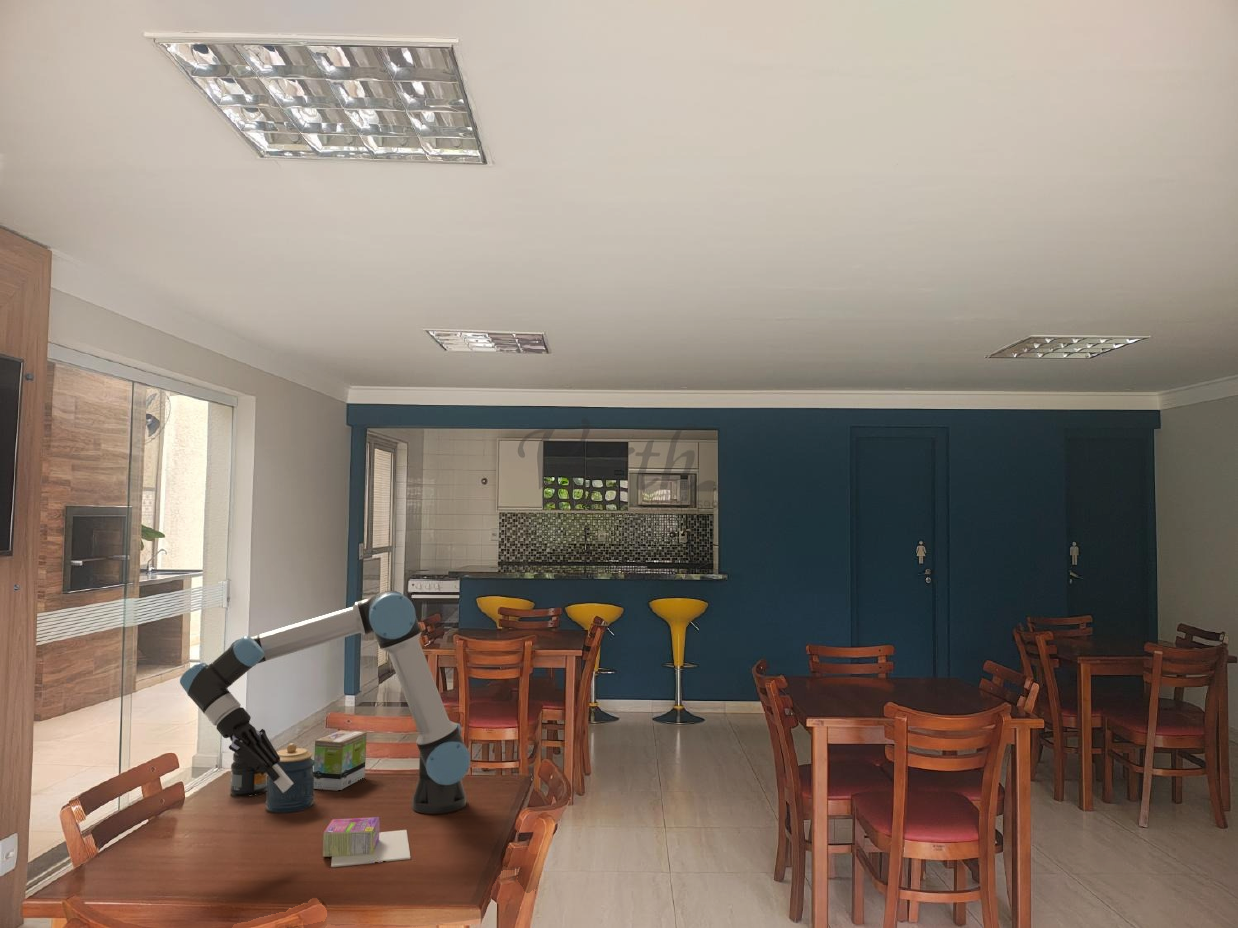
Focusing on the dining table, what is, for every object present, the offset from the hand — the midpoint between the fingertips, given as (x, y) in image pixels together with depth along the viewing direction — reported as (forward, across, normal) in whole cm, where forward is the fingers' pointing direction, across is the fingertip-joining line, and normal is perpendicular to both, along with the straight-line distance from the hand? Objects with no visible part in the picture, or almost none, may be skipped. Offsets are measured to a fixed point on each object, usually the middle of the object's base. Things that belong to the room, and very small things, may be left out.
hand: (288, 787), depth 209 cm
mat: (+25, -5, +3) cm, 25 cm away
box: (+15, -2, -2) cm, 15 cm away
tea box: (+1, -57, -21) cm, 60 cm away
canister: (-1, -33, -23) cm, 41 cm away
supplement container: (-15, -44, -37) cm, 59 cm away
